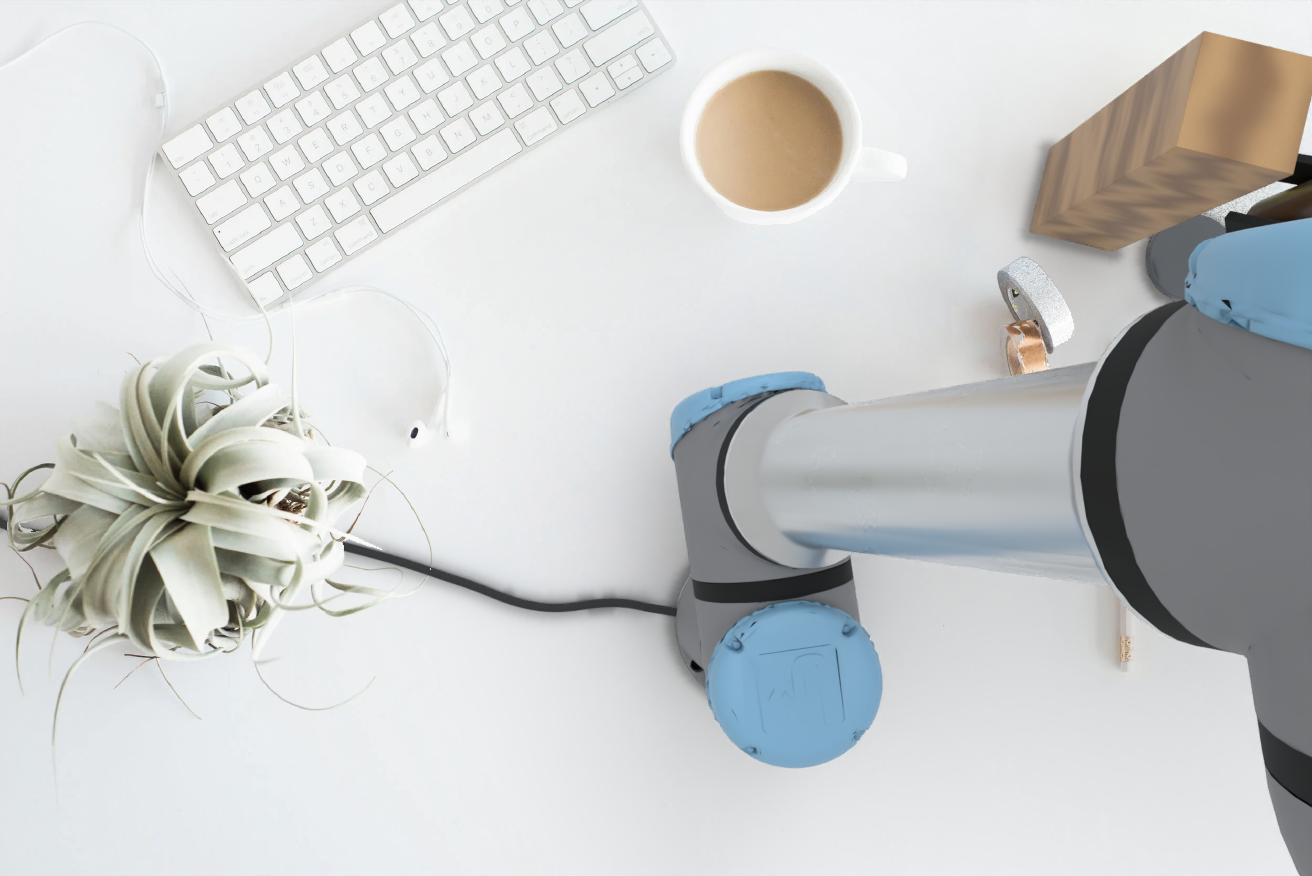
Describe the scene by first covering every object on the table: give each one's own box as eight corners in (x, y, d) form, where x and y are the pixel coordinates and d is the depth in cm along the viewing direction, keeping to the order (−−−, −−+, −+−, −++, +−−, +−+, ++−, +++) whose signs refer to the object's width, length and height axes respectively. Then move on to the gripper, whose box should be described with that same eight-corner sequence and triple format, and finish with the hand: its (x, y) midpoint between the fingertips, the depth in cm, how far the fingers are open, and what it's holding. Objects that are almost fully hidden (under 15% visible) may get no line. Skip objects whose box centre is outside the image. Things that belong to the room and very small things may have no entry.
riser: (1028, 231, 77) (1176, 146, 55) (1049, 148, 77) (1204, 30, 55) (1112, 252, 77) (1293, 174, 55) (1132, 168, 77) (1321, 58, 55)
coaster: (1136, 291, 77) (1141, 289, 76) (1156, 207, 77) (1161, 205, 77) (1220, 311, 77) (1226, 310, 76) (1240, 228, 77) (1246, 225, 76)
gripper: (1569, 434, 51) (1186, 313, 68) (1749, 199, 51) (1322, 136, 68) (1596, 373, 46) (1174, 259, 62) (1797, 111, 46) (1322, 67, 62)
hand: (1252, 195), depth 65 cm, fingers closed on pepper mill, 5 cm apart
